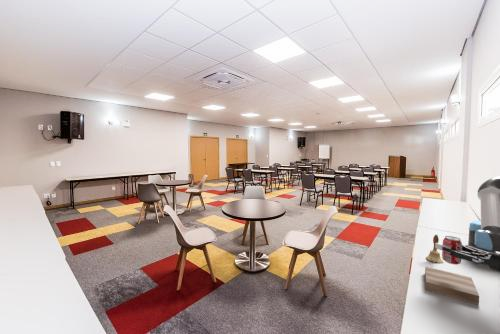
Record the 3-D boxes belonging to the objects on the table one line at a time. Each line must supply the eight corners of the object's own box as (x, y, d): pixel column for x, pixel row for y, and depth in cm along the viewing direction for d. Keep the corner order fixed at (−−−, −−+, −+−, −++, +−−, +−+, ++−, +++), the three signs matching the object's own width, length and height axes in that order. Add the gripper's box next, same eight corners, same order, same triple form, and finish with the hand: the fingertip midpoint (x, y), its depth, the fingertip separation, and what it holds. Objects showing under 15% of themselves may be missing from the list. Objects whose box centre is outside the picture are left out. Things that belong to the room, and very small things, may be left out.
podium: (425, 273, 122) (425, 266, 122) (470, 285, 111) (471, 277, 111) (426, 289, 108) (426, 281, 107) (478, 304, 97) (479, 296, 96)
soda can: (460, 261, 109) (462, 237, 109) (461, 267, 104) (463, 242, 103) (441, 257, 114) (443, 234, 113) (441, 262, 109) (443, 238, 108)
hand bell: (443, 259, 138) (444, 234, 137) (443, 264, 131) (444, 238, 130) (425, 255, 143) (427, 231, 142) (425, 260, 137) (426, 235, 136)
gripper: (493, 279, 89) (428, 254, 110) (515, 269, 96) (450, 248, 117) (494, 260, 88) (428, 239, 109) (516, 252, 96) (451, 234, 117)
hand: (440, 244), depth 113 cm, fingers closed on soda can, 7 cm apart
